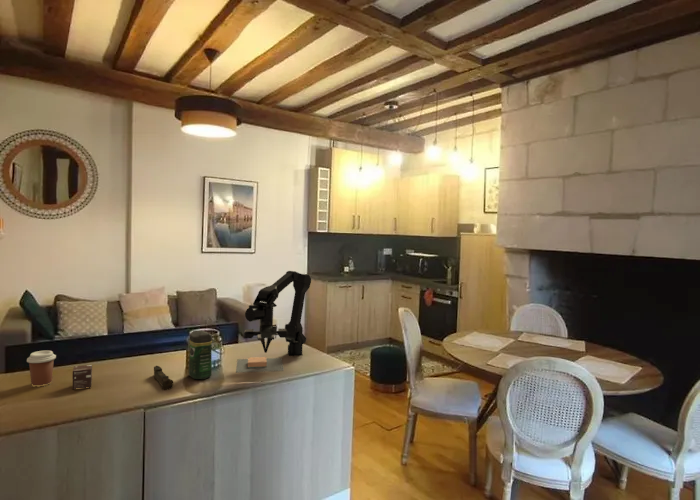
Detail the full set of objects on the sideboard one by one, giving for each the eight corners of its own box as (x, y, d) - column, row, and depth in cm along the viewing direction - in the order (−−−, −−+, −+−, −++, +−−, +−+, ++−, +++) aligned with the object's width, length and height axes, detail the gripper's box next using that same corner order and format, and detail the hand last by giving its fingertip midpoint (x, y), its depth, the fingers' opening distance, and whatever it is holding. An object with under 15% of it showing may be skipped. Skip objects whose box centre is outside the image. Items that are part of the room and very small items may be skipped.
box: (72, 390, 161) (71, 371, 160) (73, 385, 166) (73, 366, 166) (91, 388, 164) (91, 369, 163) (92, 383, 169) (92, 364, 168)
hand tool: (173, 389, 166) (173, 377, 165) (162, 391, 163) (162, 379, 163) (162, 374, 181) (162, 363, 181) (151, 376, 179) (152, 365, 179)
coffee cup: (53, 378, 172) (53, 348, 172) (58, 384, 166) (58, 353, 165) (24, 383, 166) (24, 352, 165) (29, 390, 160) (28, 358, 159)
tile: (266, 357, 198) (248, 357, 197) (266, 361, 192) (247, 362, 190) (266, 362, 199) (248, 362, 197) (266, 367, 192) (247, 367, 190)
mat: (281, 359, 206) (281, 357, 206) (283, 372, 188) (283, 370, 188) (237, 360, 201) (237, 359, 201) (235, 373, 184) (235, 372, 184)
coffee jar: (214, 377, 179) (215, 332, 178) (195, 381, 174) (195, 335, 173) (205, 371, 186) (205, 327, 185) (186, 374, 181) (187, 330, 180)
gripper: (244, 322, 184) (243, 358, 185) (289, 321, 188) (288, 357, 189) (244, 316, 195) (244, 351, 196) (287, 316, 199) (286, 349, 200)
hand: (265, 352), depth 195 cm, fingers closed
